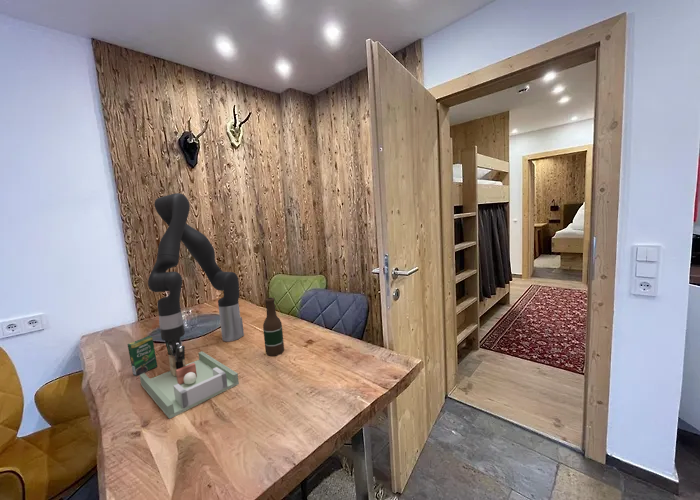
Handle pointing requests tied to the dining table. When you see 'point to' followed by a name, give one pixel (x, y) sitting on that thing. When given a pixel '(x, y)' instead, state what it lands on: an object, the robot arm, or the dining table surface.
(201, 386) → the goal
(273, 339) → the beer bottle
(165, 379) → the pitch
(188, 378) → the ball
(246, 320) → the dining table surface
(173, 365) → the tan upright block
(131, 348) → the coffee box
